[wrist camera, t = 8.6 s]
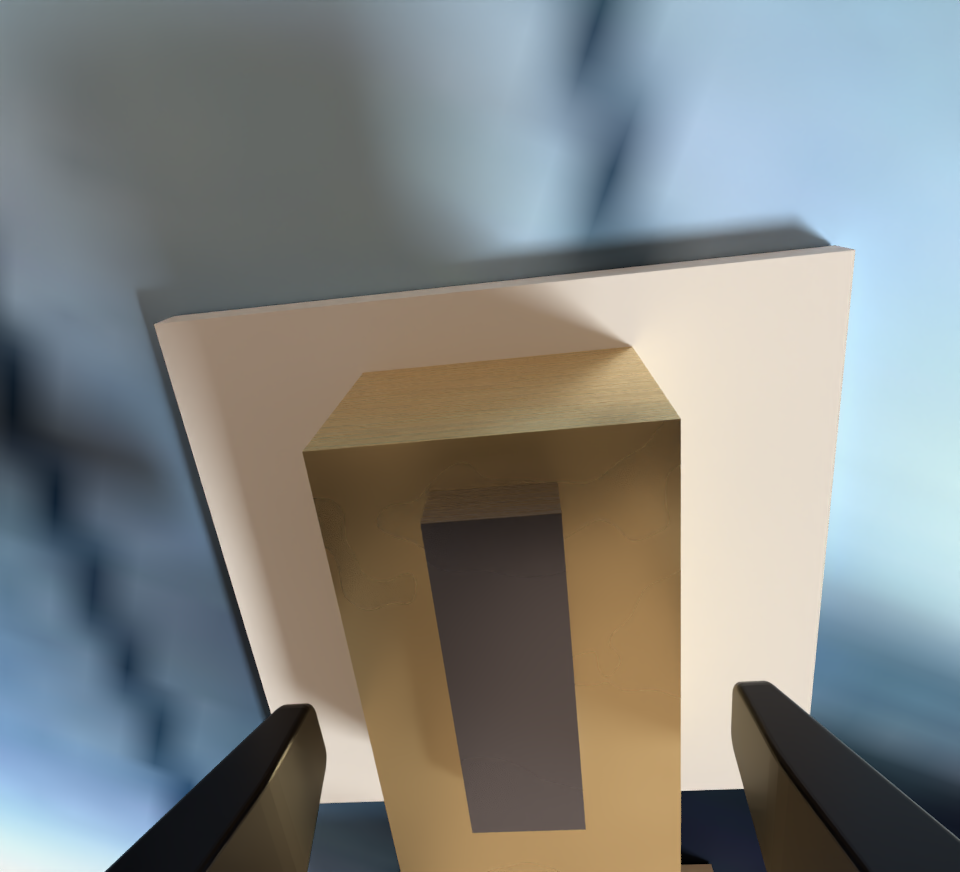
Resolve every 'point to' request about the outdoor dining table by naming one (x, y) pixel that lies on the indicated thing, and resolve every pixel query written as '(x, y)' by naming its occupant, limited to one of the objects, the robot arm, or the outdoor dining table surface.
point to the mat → (532, 332)
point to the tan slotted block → (513, 607)
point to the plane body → (697, 868)
